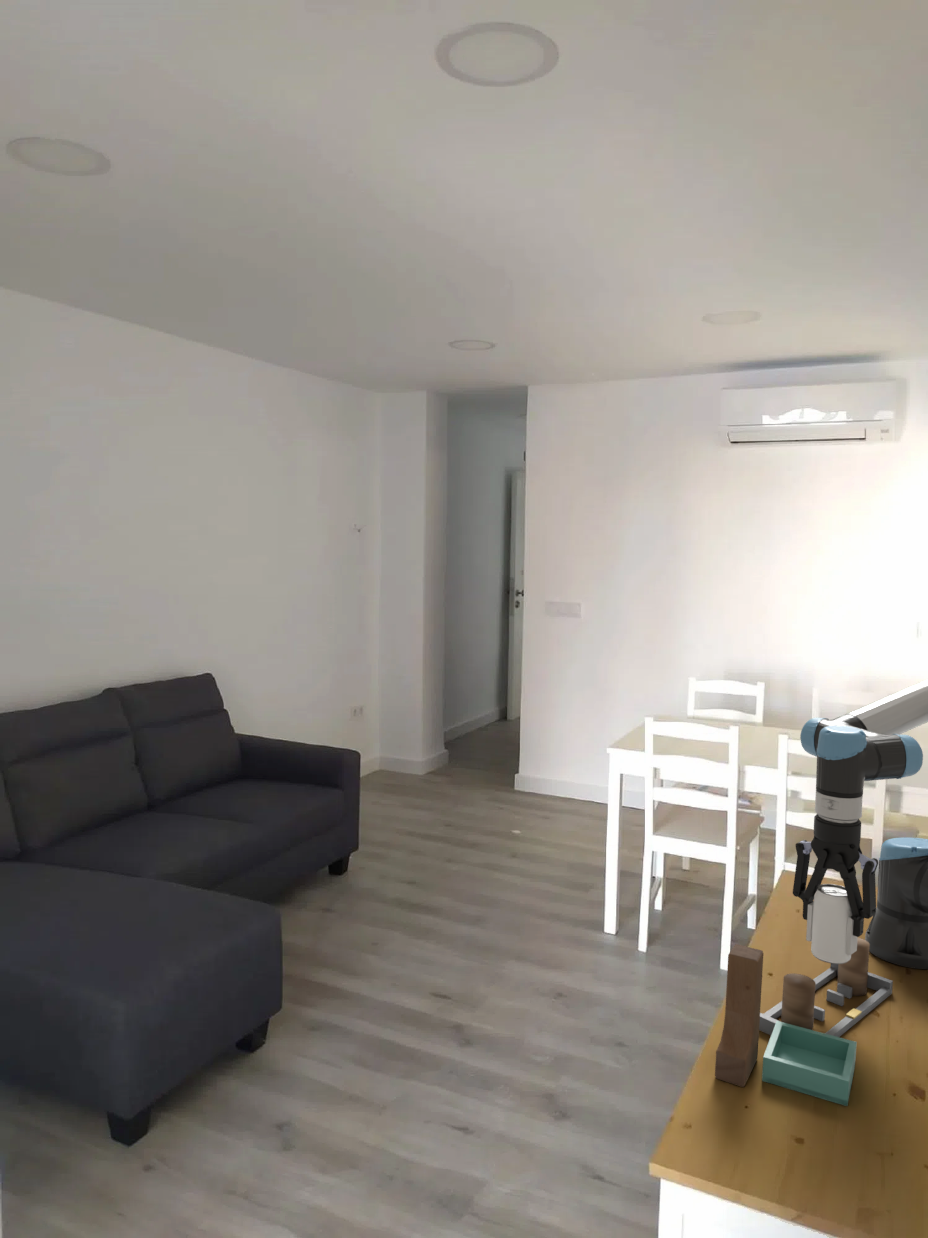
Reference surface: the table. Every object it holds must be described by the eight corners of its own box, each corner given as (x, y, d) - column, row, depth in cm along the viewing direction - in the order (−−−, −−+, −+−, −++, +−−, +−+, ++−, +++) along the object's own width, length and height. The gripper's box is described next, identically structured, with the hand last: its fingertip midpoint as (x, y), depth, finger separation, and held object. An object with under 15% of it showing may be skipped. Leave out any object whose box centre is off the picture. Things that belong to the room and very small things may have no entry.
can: (854, 967, 152) (858, 898, 151) (814, 962, 154) (818, 895, 153) (846, 950, 159) (850, 884, 158) (807, 946, 160) (811, 881, 159)
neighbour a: (851, 981, 168) (854, 934, 167) (872, 993, 163) (875, 945, 162) (831, 985, 166) (833, 938, 165) (851, 997, 161) (854, 949, 161)
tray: (775, 1043, 146) (776, 1020, 146) (855, 1065, 140) (856, 1042, 140) (761, 1081, 135) (763, 1057, 135) (847, 1106, 130) (849, 1081, 129)
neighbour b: (796, 1022, 153) (799, 971, 152) (819, 1037, 148) (822, 985, 147) (774, 1027, 151) (777, 976, 150) (795, 1043, 146) (799, 990, 145)
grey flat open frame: (832, 971, 171) (833, 959, 171) (892, 993, 163) (893, 981, 163) (753, 1027, 150) (753, 1014, 150) (817, 1056, 142) (818, 1042, 142)
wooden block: (744, 1089, 133) (750, 973, 132) (714, 1079, 136) (720, 965, 134) (757, 1059, 141) (764, 950, 139) (729, 1051, 143) (734, 942, 142)
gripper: (774, 808, 158) (769, 933, 160) (886, 835, 144) (878, 972, 146) (794, 800, 163) (788, 921, 166) (904, 825, 149) (896, 958, 152)
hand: (831, 945), depth 156 cm, fingers closed on can, 6 cm apart
